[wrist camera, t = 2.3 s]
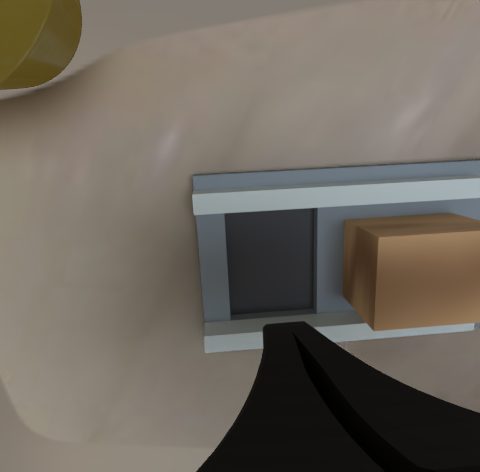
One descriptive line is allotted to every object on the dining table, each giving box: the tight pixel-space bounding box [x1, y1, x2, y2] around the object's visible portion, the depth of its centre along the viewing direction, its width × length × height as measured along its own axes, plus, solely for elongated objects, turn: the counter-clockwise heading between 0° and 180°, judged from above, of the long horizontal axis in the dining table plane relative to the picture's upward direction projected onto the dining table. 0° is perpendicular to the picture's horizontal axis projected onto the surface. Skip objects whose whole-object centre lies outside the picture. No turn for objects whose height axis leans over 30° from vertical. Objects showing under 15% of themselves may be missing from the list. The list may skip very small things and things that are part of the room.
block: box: [343, 213, 480, 331], centre depth 18 cm, size 4×6×4 cm
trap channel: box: [192, 159, 480, 353], centre depth 19 cm, size 10×25×2 cm, turn 93°
